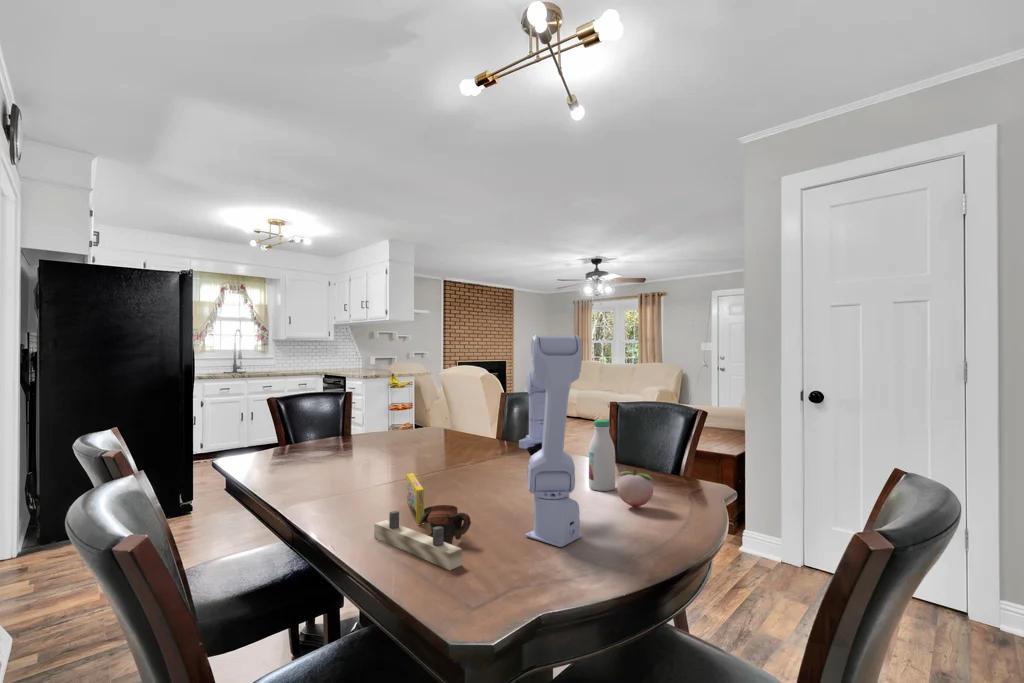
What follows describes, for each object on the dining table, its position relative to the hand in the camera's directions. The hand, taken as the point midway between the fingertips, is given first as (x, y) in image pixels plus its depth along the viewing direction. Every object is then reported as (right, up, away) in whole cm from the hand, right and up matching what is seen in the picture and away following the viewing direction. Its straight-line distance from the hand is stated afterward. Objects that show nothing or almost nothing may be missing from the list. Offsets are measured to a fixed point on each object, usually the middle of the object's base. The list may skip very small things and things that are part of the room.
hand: (540, 473), depth 121 cm
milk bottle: (+20, -10, +21) cm, 31 cm away
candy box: (-31, -10, -3) cm, 33 cm away
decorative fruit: (+25, -10, +2) cm, 27 cm away
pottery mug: (-21, -9, -19) cm, 30 cm away
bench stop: (-26, -9, -25) cm, 37 cm away
